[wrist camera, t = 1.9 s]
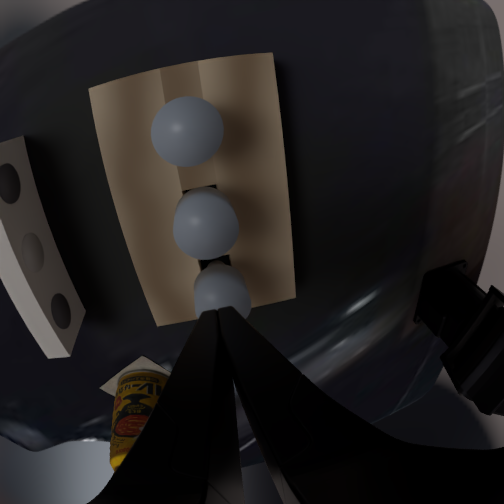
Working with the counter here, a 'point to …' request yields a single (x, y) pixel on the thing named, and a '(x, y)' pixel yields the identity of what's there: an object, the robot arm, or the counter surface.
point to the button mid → (205, 223)
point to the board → (200, 177)
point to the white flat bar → (34, 258)
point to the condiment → (133, 403)
